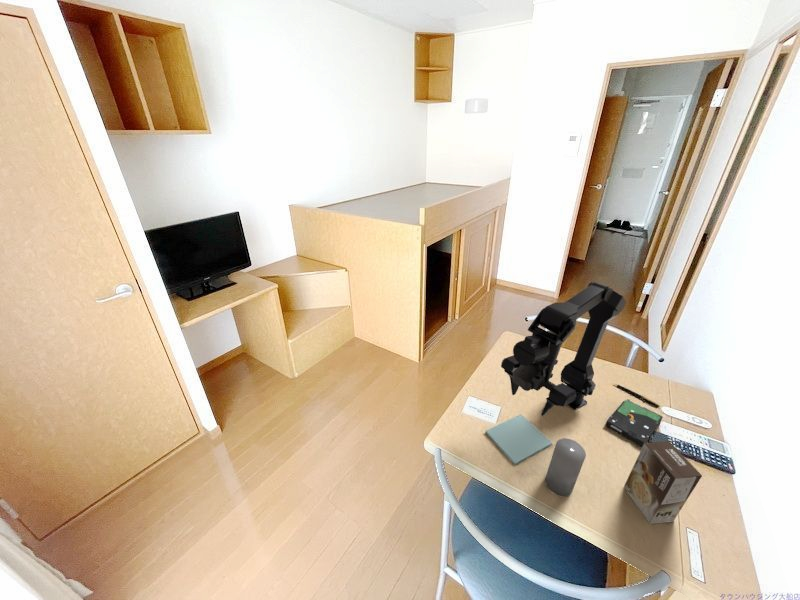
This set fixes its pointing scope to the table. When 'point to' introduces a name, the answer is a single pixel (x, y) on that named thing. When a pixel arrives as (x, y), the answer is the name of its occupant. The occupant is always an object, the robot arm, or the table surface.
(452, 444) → the table surface
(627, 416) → the disk drive
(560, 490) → the grey domed cylinder
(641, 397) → the fountain pen
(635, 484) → the coffee box
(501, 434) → the slate board
